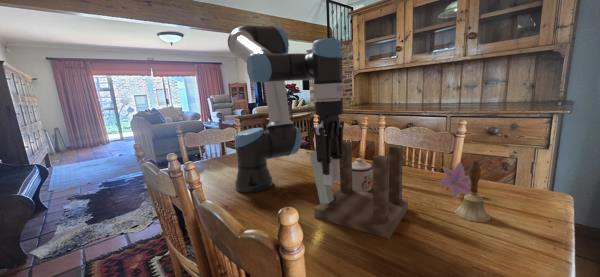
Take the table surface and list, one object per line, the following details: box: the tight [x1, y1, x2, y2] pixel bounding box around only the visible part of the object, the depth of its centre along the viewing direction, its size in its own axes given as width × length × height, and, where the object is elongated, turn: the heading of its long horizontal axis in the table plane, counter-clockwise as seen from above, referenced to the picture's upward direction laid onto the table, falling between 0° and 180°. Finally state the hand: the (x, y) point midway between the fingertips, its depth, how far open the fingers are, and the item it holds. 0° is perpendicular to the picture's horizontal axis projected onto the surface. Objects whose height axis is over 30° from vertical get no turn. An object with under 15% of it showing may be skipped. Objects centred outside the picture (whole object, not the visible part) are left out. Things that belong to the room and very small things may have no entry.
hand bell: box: [454, 159, 492, 223], centre depth 70 cm, size 8×8×16 cm
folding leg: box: [309, 150, 334, 204], centre depth 74 cm, size 3×3×15 cm
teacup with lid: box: [352, 157, 373, 193], centre depth 95 cm, size 12×9×12 cm
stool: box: [313, 140, 409, 240], centre depth 74 cm, size 22×18×20 cm
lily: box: [438, 161, 471, 200], centre depth 85 cm, size 12×12×10 cm
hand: (331, 182), depth 73 cm, fingers closed on folding leg, 3 cm apart
